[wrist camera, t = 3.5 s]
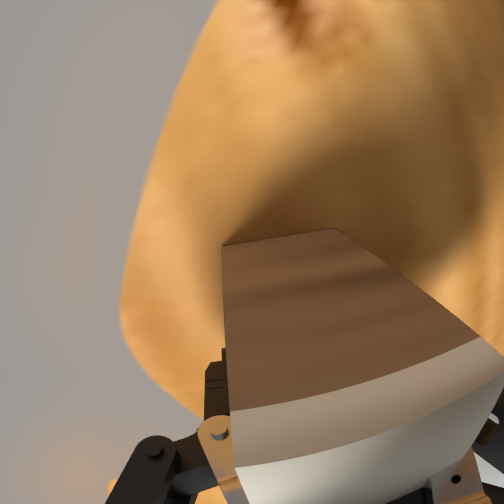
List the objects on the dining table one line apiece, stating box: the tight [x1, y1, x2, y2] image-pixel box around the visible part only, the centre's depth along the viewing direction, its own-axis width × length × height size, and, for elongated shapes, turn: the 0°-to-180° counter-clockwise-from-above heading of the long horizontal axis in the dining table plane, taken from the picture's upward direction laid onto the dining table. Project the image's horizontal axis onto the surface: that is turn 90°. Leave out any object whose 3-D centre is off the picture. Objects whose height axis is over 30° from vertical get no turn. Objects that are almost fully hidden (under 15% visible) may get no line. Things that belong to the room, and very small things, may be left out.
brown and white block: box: [221, 228, 504, 504], centre depth 9 cm, size 9×4×9 cm, turn 8°
